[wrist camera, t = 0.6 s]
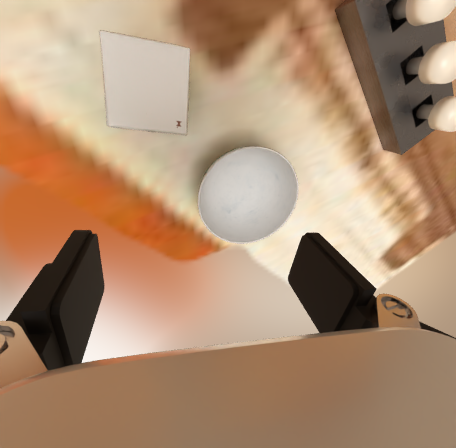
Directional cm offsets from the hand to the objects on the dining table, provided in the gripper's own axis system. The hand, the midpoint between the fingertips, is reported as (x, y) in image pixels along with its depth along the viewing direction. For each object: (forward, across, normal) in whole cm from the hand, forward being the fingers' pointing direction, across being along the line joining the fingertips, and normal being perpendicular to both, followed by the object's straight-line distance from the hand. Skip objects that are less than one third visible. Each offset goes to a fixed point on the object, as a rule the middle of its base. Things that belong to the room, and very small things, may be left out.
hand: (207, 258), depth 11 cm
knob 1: (+25, -26, -19) cm, 41 cm away
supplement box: (+29, +4, -6) cm, 30 cm away
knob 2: (+25, -37, -9) cm, 45 cm away
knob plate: (+29, -32, -14) cm, 45 cm away
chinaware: (+29, -10, +6) cm, 31 cm away
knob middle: (+25, -32, -14) cm, 43 cm away
